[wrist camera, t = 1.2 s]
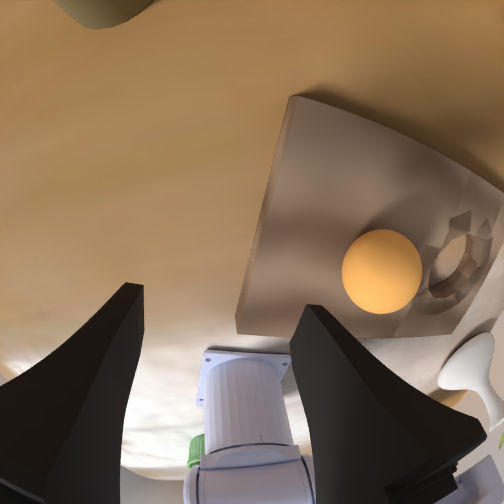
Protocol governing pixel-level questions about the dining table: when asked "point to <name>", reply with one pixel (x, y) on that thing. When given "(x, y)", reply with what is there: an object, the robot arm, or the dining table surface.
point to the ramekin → (196, 450)
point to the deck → (362, 225)
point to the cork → (102, 11)
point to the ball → (381, 271)
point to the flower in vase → (474, 375)
